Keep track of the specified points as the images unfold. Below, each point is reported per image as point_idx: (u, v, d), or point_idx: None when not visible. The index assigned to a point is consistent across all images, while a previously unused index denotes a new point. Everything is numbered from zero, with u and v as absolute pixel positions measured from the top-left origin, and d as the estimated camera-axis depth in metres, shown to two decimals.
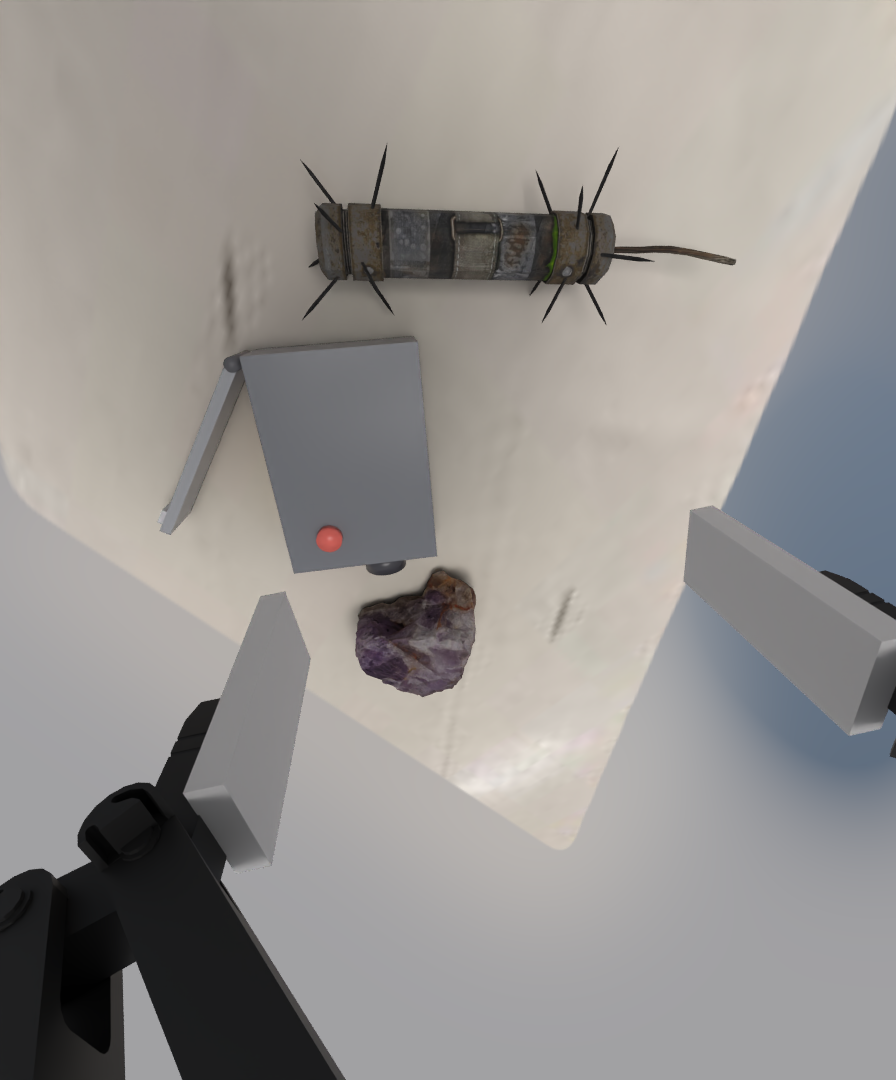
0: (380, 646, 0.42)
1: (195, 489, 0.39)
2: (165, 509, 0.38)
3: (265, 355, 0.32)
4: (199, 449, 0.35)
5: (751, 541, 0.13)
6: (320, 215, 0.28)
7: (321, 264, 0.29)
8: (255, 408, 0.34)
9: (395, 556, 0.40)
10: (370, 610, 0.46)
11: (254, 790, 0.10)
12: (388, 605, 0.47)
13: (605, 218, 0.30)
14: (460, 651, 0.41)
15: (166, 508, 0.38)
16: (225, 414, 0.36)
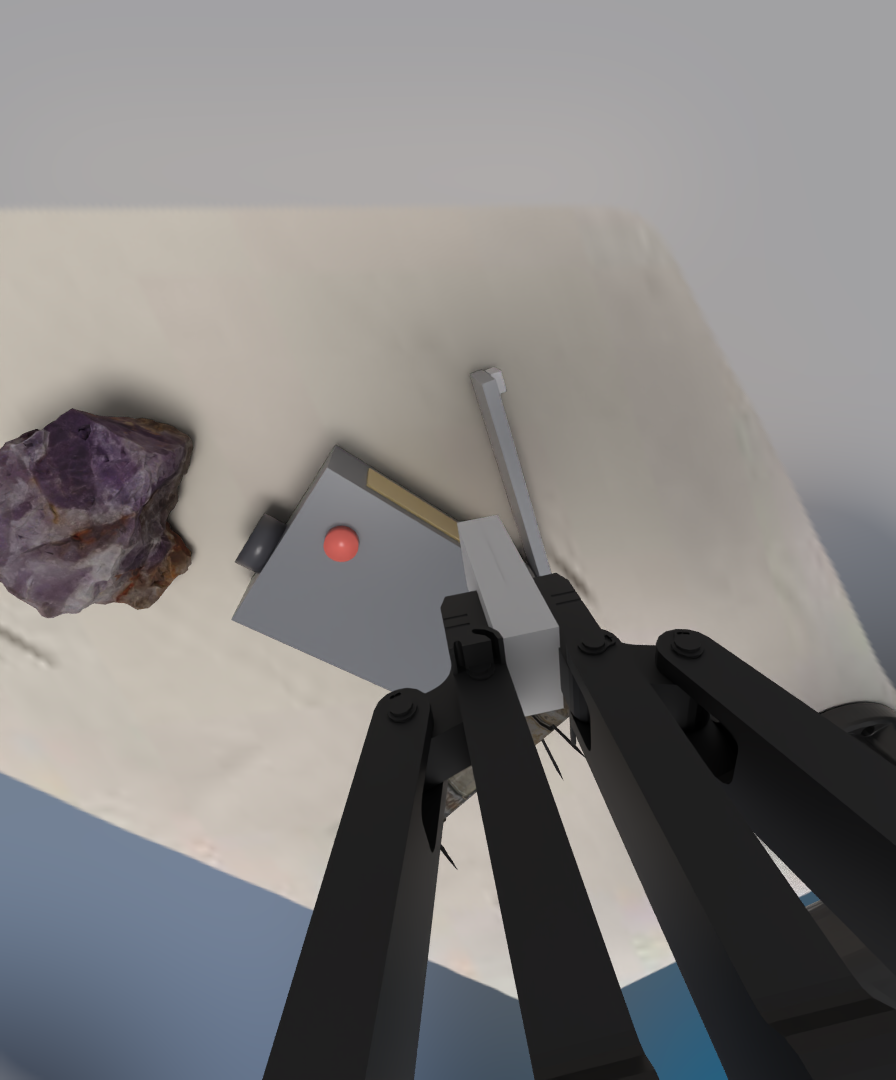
0: (133, 498, 0.24)
1: (489, 427, 0.30)
2: None
3: None
4: (523, 503, 0.29)
5: (501, 547, 0.15)
6: (568, 716, 0.36)
7: None
8: None
9: (263, 582, 0.29)
10: (186, 459, 0.29)
11: None
12: (178, 483, 0.30)
13: None
14: (58, 606, 0.25)
15: None
16: (519, 523, 0.33)
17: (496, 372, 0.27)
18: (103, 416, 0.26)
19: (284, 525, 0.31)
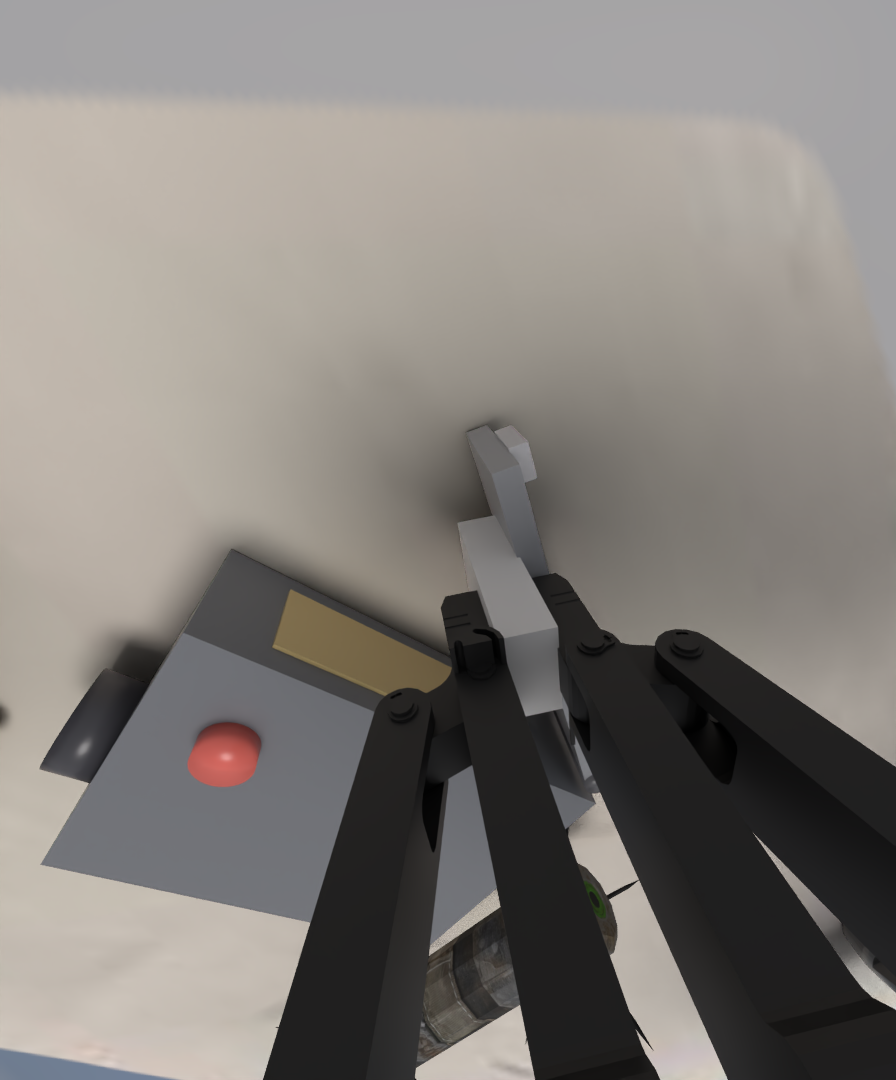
0: None
1: None
2: None
3: (566, 826, 0.20)
4: None
5: (500, 547, 0.15)
6: (615, 943, 0.23)
7: None
8: None
9: (89, 811, 0.16)
10: None
11: None
12: None
13: None
14: None
15: None
16: None
17: (519, 444, 0.14)
18: None
19: (138, 693, 0.17)
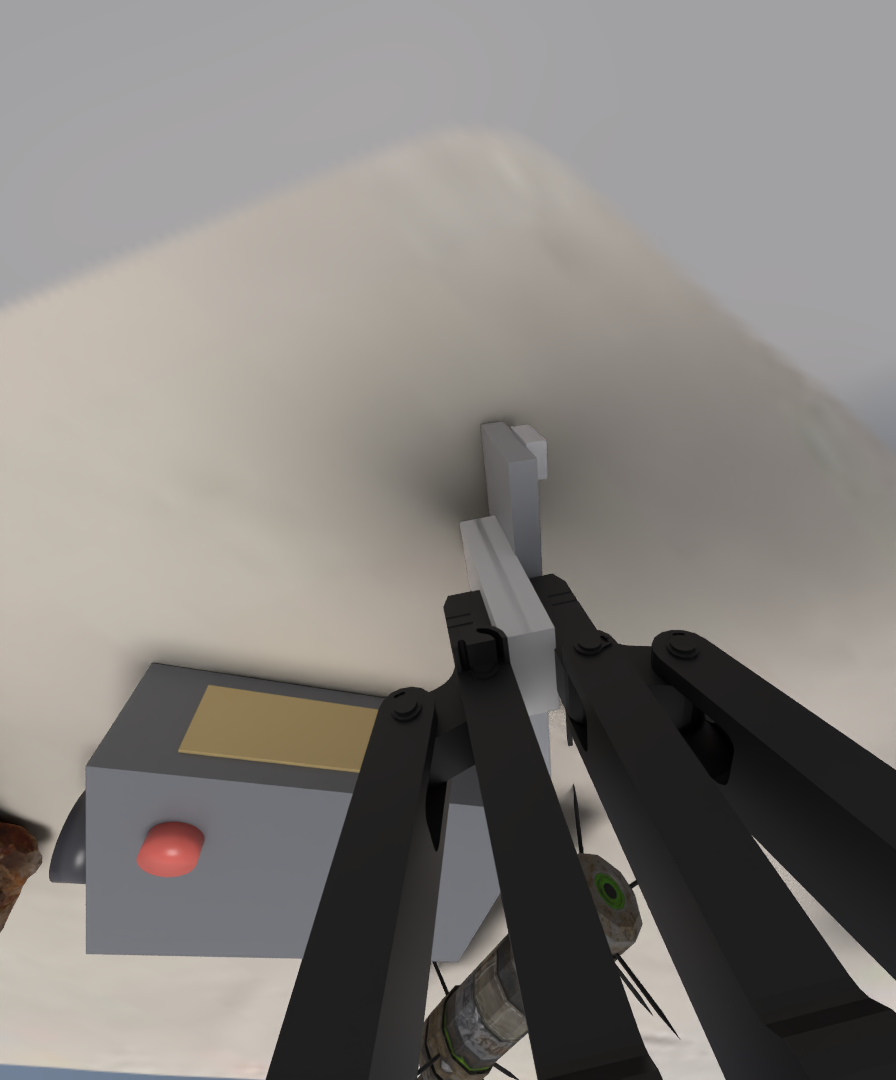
0: None
1: None
2: None
3: None
4: None
5: (498, 548, 0.15)
6: (638, 932, 0.23)
7: None
8: (469, 809, 0.19)
9: (98, 909, 0.19)
10: None
11: None
12: None
13: None
14: None
15: None
16: None
17: (536, 441, 0.14)
18: None
19: None
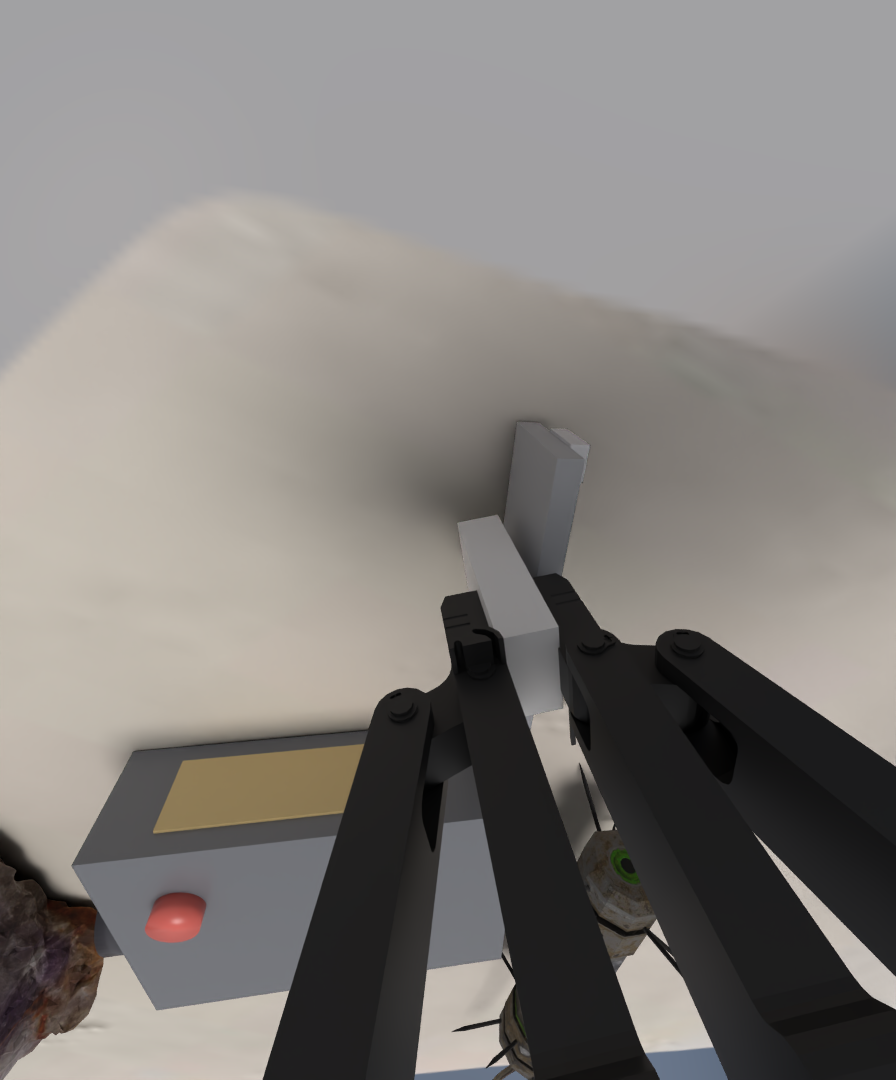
0: None
1: (518, 523, 0.17)
2: None
3: None
4: None
5: (501, 547, 0.15)
6: None
7: (613, 894, 0.22)
8: None
9: (146, 974, 0.22)
10: None
11: None
12: (12, 891, 0.23)
13: None
14: None
15: None
16: None
17: (580, 444, 0.14)
18: None
19: None
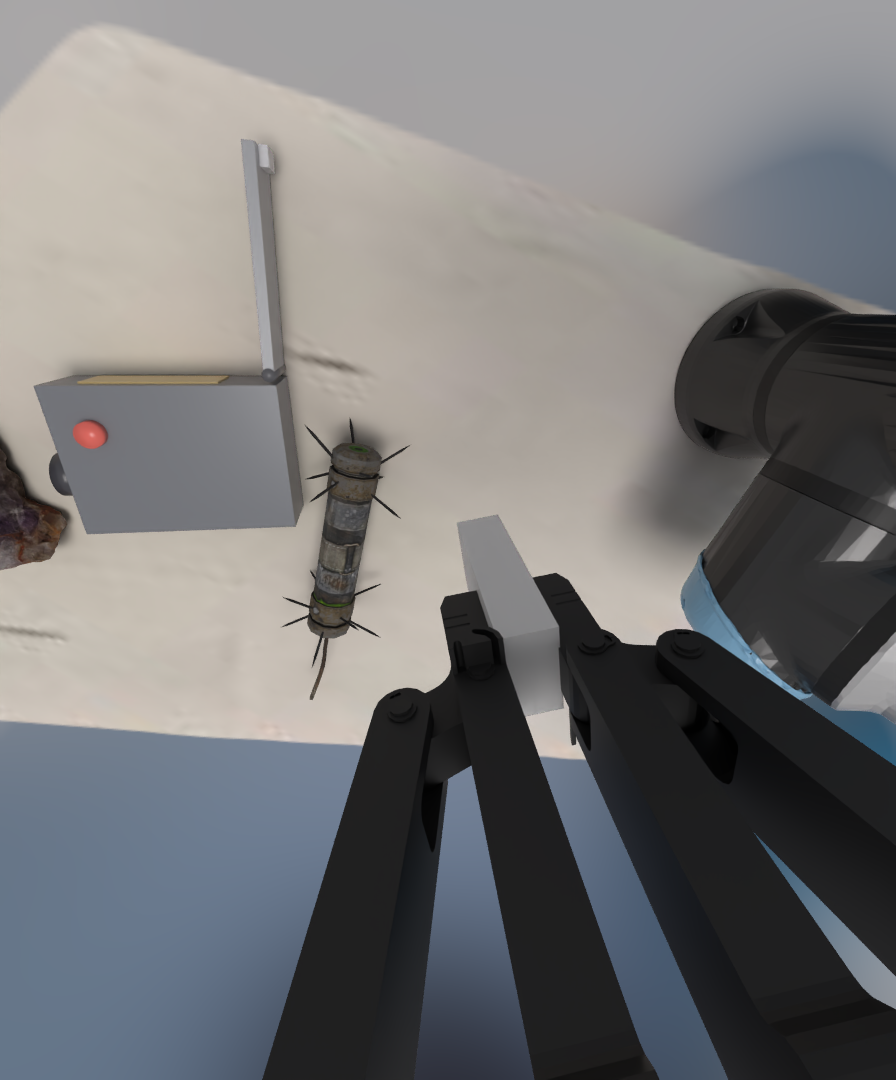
0: None
1: None
2: (267, 168, 0.32)
3: (278, 408, 0.38)
4: (258, 276, 0.34)
5: (501, 547, 0.15)
6: (371, 461, 0.39)
7: (342, 451, 0.39)
8: (229, 388, 0.36)
9: (78, 495, 0.39)
10: None
11: None
12: (4, 466, 0.40)
13: (344, 631, 0.47)
14: None
15: (268, 168, 0.32)
16: None
17: (263, 145, 0.31)
18: None
19: None
